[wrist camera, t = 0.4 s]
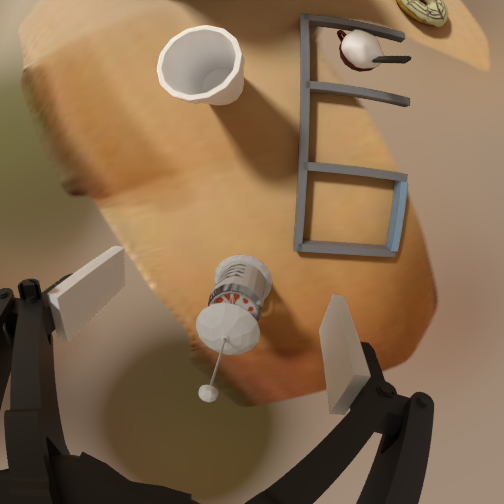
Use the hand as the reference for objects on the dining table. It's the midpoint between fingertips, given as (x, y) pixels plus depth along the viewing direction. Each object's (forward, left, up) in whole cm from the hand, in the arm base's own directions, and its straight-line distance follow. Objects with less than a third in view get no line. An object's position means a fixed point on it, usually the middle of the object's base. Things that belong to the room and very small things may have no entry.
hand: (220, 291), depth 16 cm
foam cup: (-18, -6, -27) cm, 33 cm away
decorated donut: (-40, +27, -27) cm, 56 cm away
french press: (+14, -3, -27) cm, 30 cm away
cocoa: (-24, +14, -27) cm, 39 cm away
